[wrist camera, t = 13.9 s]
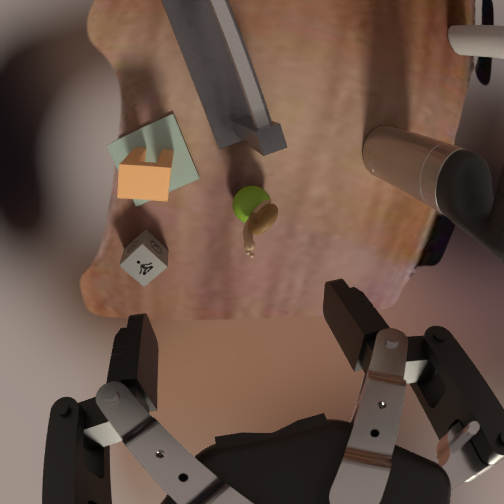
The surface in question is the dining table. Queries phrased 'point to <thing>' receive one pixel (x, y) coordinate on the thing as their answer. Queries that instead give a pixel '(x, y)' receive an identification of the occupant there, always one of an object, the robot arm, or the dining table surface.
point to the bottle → (477, 40)
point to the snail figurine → (254, 213)
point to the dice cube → (144, 258)
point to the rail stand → (223, 74)
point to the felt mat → (158, 150)
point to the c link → (145, 176)
